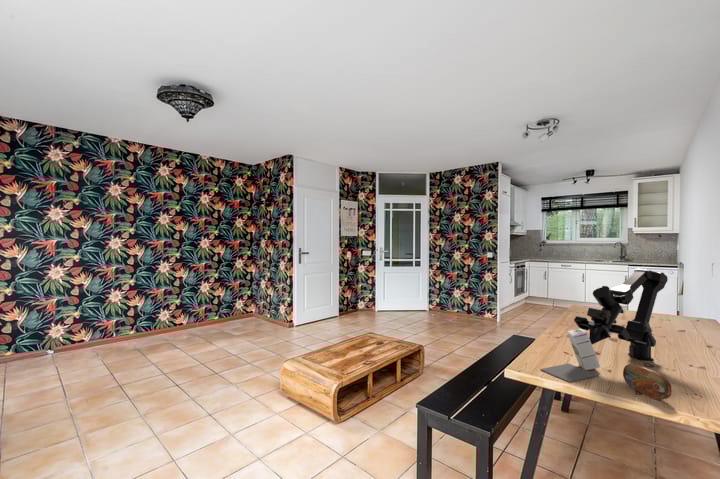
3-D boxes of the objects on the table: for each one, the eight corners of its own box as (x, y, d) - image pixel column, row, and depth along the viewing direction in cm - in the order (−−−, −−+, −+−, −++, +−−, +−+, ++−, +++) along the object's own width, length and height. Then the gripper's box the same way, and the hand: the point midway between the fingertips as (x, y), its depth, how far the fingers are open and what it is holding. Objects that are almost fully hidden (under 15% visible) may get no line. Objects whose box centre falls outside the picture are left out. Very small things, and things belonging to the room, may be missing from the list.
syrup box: (601, 367, 127) (588, 331, 128) (584, 370, 128) (572, 335, 129) (593, 361, 133) (581, 327, 134) (578, 365, 134) (566, 331, 135)
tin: (622, 383, 117) (622, 360, 117) (630, 383, 117) (630, 360, 117) (664, 405, 102) (664, 378, 102) (673, 404, 102) (674, 377, 102)
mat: (568, 364, 135) (568, 363, 135) (598, 375, 124) (598, 374, 124) (540, 370, 129) (540, 369, 129) (569, 382, 118) (569, 381, 118)
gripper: (576, 297, 141) (558, 324, 137) (625, 305, 124) (606, 337, 120) (588, 314, 144) (571, 341, 140) (637, 324, 127) (619, 356, 123)
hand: (590, 343), depth 131 cm, fingers closed
